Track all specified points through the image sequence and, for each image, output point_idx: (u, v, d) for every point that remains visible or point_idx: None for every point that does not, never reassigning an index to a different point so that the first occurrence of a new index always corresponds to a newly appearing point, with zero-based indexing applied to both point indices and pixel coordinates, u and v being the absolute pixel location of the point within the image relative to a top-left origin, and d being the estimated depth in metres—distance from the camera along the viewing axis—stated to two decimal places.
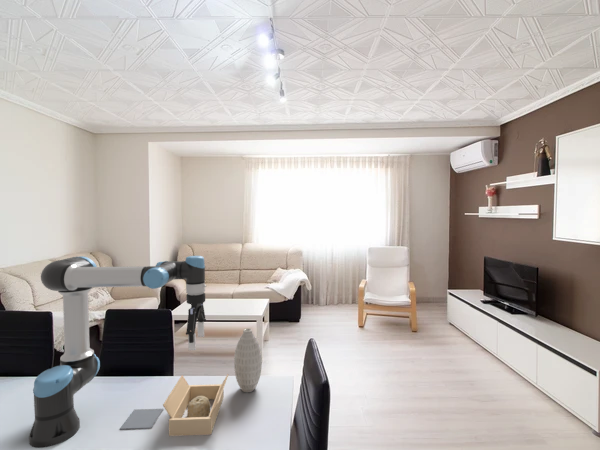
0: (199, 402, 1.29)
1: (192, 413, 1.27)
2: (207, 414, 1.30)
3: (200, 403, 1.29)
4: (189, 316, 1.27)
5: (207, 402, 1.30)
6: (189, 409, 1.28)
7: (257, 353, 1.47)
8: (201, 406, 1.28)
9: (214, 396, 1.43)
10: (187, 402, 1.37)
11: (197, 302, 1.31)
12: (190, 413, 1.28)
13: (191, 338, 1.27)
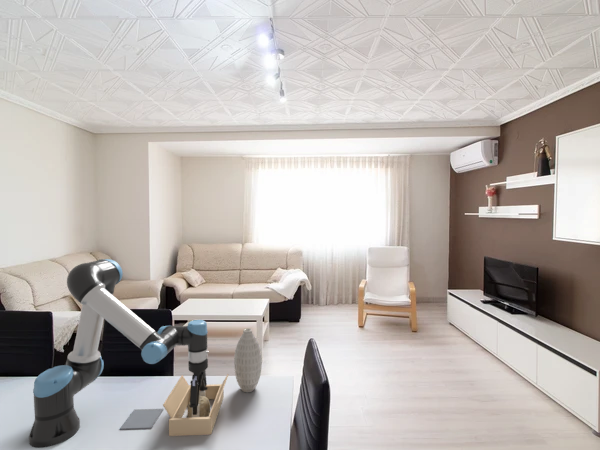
0: (199, 402, 1.29)
1: None
2: (207, 414, 1.30)
3: (200, 403, 1.29)
4: (192, 388, 1.24)
5: (207, 402, 1.30)
6: (189, 409, 1.28)
7: (257, 353, 1.47)
8: (201, 406, 1.28)
9: (214, 396, 1.43)
10: (187, 402, 1.37)
11: (199, 370, 1.27)
12: (190, 413, 1.27)
13: (195, 410, 1.25)
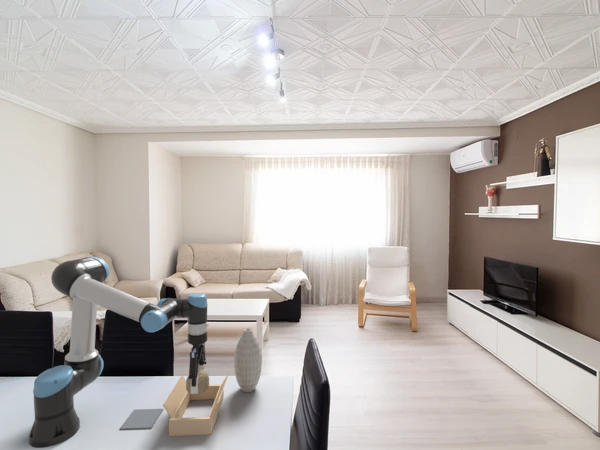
0: (198, 375, 1.29)
1: None
2: (206, 387, 1.29)
3: (198, 376, 1.28)
4: (191, 360, 1.24)
5: (206, 375, 1.30)
6: (188, 382, 1.28)
7: (257, 353, 1.47)
8: (200, 379, 1.28)
9: (214, 396, 1.43)
10: (187, 402, 1.37)
11: (199, 343, 1.27)
12: (189, 385, 1.27)
13: (193, 382, 1.25)
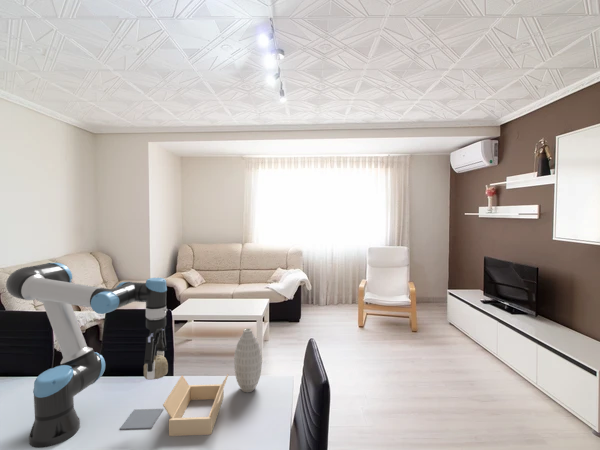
0: (155, 360, 1.27)
1: None
2: (164, 373, 1.27)
3: (156, 361, 1.26)
4: (147, 345, 1.22)
5: (164, 361, 1.28)
6: (145, 367, 1.26)
7: (257, 353, 1.47)
8: (158, 364, 1.26)
9: (214, 396, 1.43)
10: (187, 402, 1.37)
11: (156, 327, 1.25)
12: (146, 370, 1.25)
13: (150, 367, 1.23)
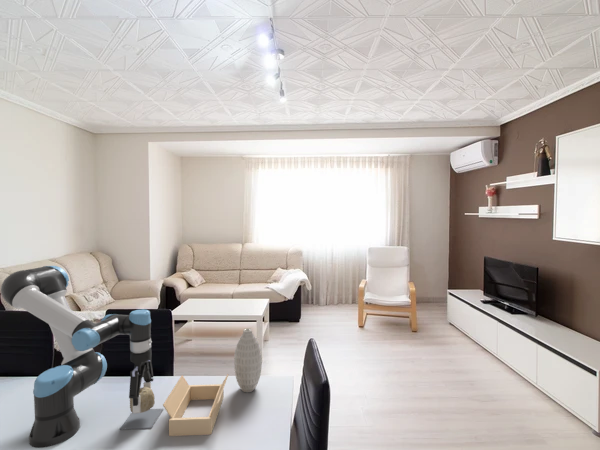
0: (141, 393, 1.26)
1: None
2: (150, 405, 1.27)
3: (142, 394, 1.26)
4: (131, 379, 1.21)
5: (150, 393, 1.28)
6: (131, 400, 1.26)
7: (257, 353, 1.47)
8: (143, 397, 1.25)
9: (214, 396, 1.43)
10: (187, 402, 1.37)
11: (141, 360, 1.25)
12: (132, 404, 1.25)
13: (135, 401, 1.22)
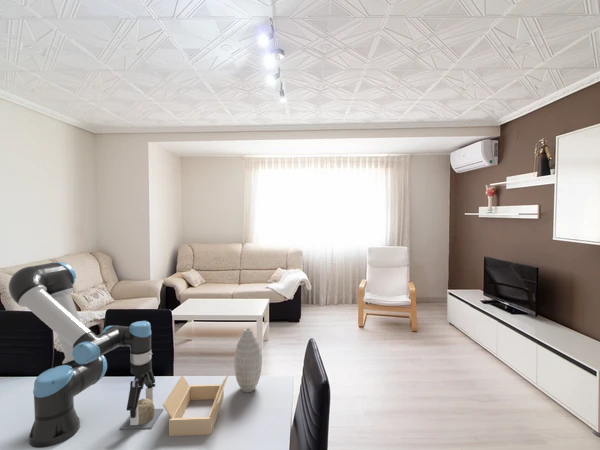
0: (141, 405, 1.26)
1: None
2: (150, 417, 1.27)
3: (142, 406, 1.26)
4: (131, 389, 1.21)
5: (150, 405, 1.28)
6: None
7: (257, 353, 1.47)
8: (143, 409, 1.25)
9: (214, 396, 1.43)
10: (187, 402, 1.37)
11: (141, 373, 1.25)
12: None
13: (132, 413, 1.20)
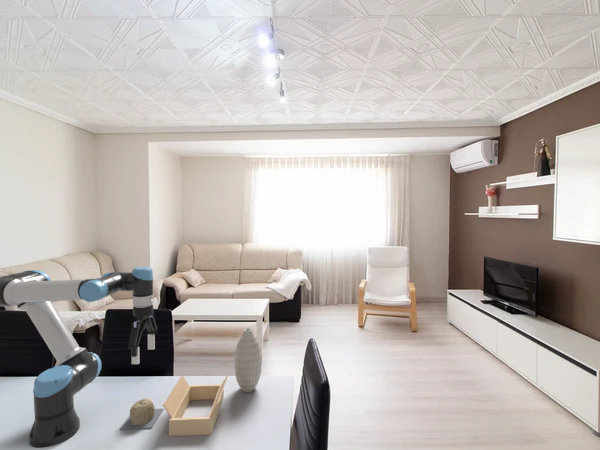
0: (141, 405, 1.26)
1: (133, 416, 1.25)
2: (150, 417, 1.27)
3: (142, 406, 1.26)
4: (132, 329, 1.25)
5: (150, 405, 1.28)
6: (131, 412, 1.26)
7: (257, 353, 1.47)
8: (143, 409, 1.25)
9: (214, 396, 1.43)
10: (187, 402, 1.37)
11: (143, 315, 1.29)
12: (132, 416, 1.25)
13: (134, 352, 1.24)
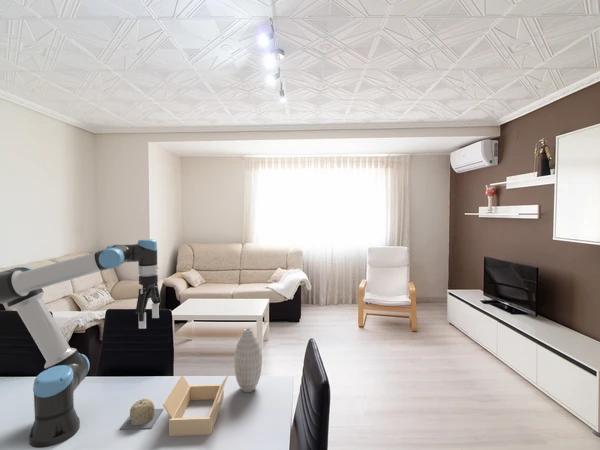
0: (141, 405, 1.26)
1: (133, 416, 1.25)
2: (150, 417, 1.27)
3: (142, 406, 1.26)
4: (139, 296, 1.33)
5: (150, 405, 1.28)
6: (131, 412, 1.26)
7: (257, 353, 1.47)
8: (143, 409, 1.25)
9: (214, 396, 1.43)
10: (187, 402, 1.37)
11: (148, 283, 1.37)
12: (132, 416, 1.25)
13: (141, 317, 1.32)
